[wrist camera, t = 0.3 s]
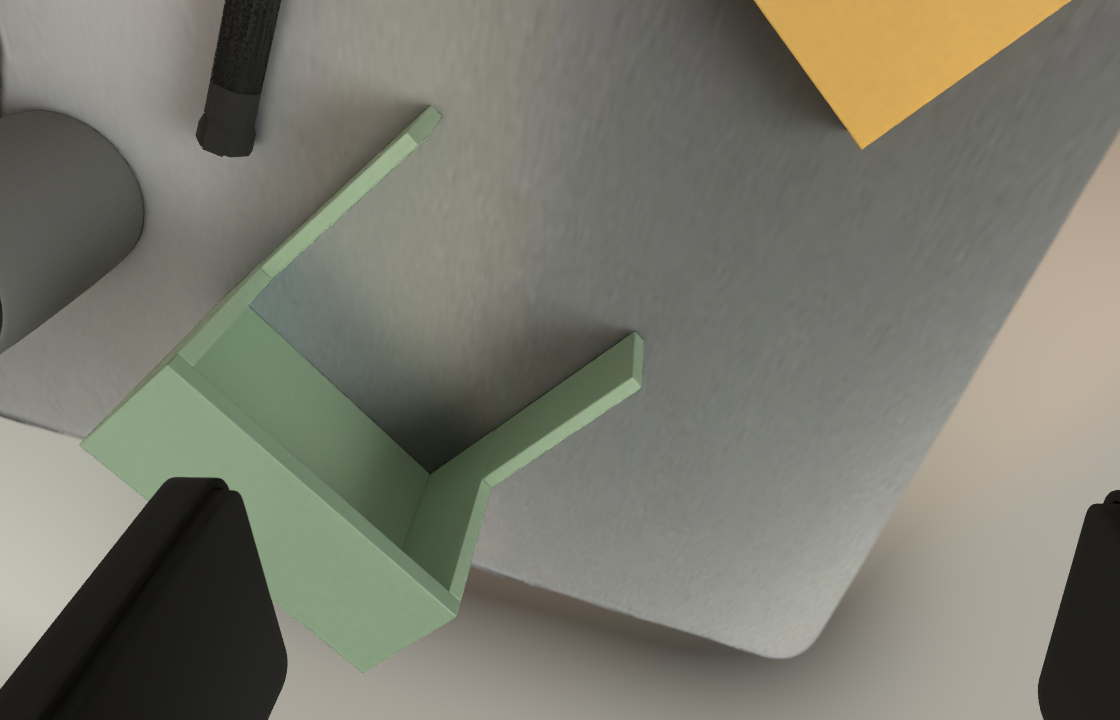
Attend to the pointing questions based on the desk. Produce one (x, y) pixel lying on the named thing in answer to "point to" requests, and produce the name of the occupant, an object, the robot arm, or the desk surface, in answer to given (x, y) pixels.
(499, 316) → the desk surface
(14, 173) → the mug
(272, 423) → the green block
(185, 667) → the robot arm
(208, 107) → the flashlight
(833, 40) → the orange flat block
